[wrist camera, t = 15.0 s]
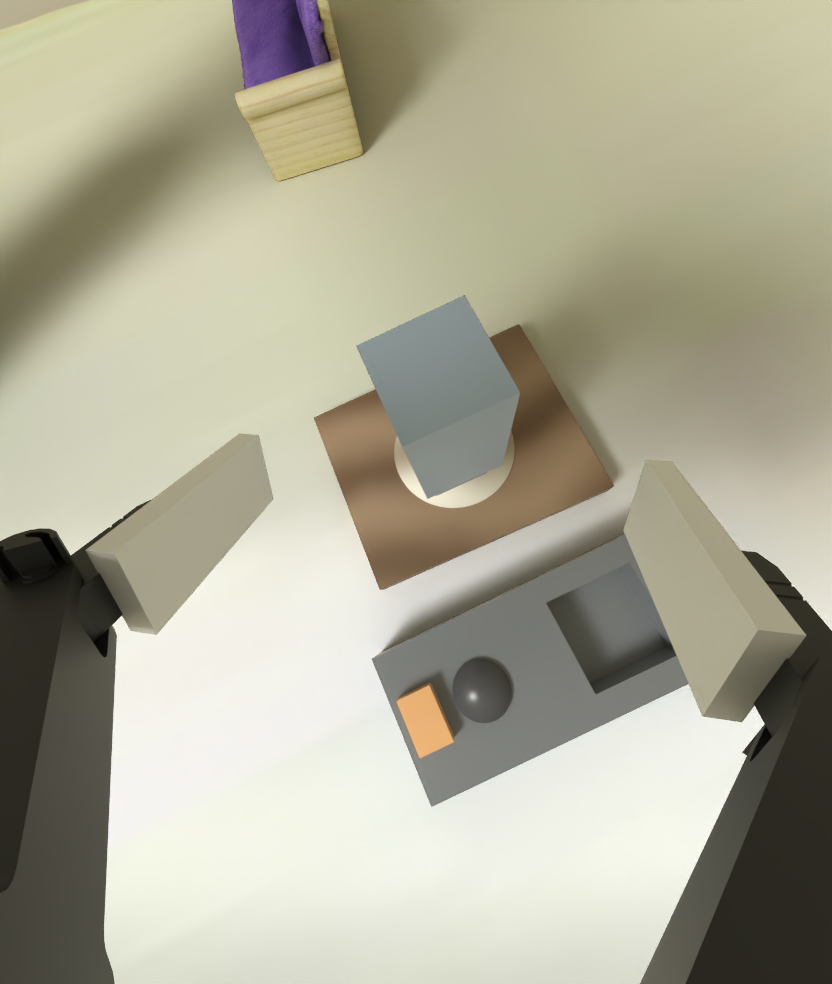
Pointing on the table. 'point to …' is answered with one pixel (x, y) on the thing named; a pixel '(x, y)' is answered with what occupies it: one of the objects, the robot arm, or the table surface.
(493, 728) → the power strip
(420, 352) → the brick
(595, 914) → the table surface
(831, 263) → the table surface
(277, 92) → the toy sofa
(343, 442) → the walnut pad
